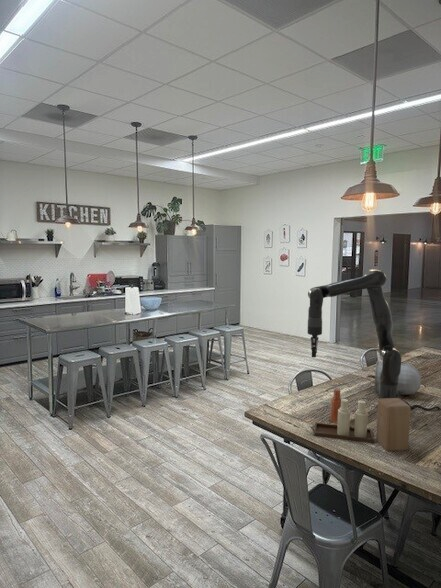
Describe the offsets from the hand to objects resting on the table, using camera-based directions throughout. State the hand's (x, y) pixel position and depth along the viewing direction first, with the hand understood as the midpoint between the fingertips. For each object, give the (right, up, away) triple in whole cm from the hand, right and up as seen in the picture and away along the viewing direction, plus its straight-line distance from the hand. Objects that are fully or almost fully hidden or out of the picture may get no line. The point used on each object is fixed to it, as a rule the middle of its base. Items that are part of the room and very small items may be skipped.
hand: (314, 355), depth 211 cm
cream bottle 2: (+13, -32, -32) cm, 47 cm away
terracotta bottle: (+7, -30, -15) cm, 35 cm away
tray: (+6, -32, -30) cm, 44 cm away
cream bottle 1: (+6, -32, -30) cm, 44 cm away
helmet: (+52, -26, +24) cm, 63 cm away
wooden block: (+24, -34, -40) cm, 57 cm away
